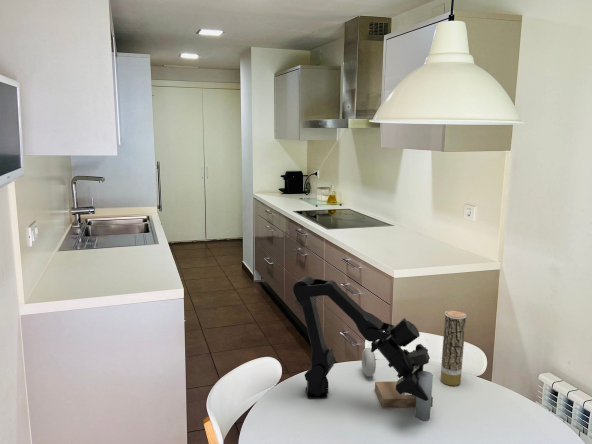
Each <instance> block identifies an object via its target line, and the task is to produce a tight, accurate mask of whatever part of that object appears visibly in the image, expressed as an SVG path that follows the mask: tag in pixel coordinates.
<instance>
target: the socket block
mask: <svg viewBox="0 0 592 444" xmlns="http://www.w3.org/2000/svg"><path fill="white" fill-rule="evenodd" d="M397 381H398V380H397ZM397 381H395V380H394V381H393V380H392V381H375V382H374V391H375V393H376V395H377V398H378V400H379V402H380V404H381V407H382V408H383V409H385V408H387V409H388V408H389V409H390V408H392V409H394V408H416V396H414V395H412V394H408V393H407V392H404V393H402V394H401V395H400V394H399V393H398V392H397V391H396V384H397ZM406 393H407V394H406ZM433 399H434V397H433V396H432V397H431V407H433V403H434V400H433Z"/></svg>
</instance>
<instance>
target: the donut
mask: <svg viewBox="0 0 592 444" xmlns="http://www.w3.org/2000/svg"><path fill="white" fill-rule="evenodd" d="M375 354H376V353H375V351H374V352H371V347H366V348H364V349H363V351H362V355H361V368H362V372H363V374H364V375H365V376H366V377H373V376H374V375H375V373H376V368H377V367H376V366H377V362H376V360H377V359H376V355H375Z"/></svg>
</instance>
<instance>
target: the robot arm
mask: <svg viewBox="0 0 592 444" xmlns="http://www.w3.org/2000/svg"><path fill="white" fill-rule="evenodd" d="M292 292H293V295H294V298H295V299H296V302H297V303H298V304H299V306H300V307H301V309H302V313H303V317H304V321H305V325H306V329H307V334H308V338H309V342H310V346H311V358H310V364H311V366H310V367H309V368H308V369H307V371H306V372H305V373H304V379H305V381H306V387H305V391H306V396H307V399H328V394H329V380H328V378H327V377H328V375H329V373H330V371H331V369H333V367H334V365H335V361H336V357H335V354H334V348H329V347H328V346H327V345H326V344H327V343H326V341H325V338H324V333H323V329H322V324H321V319H320V315H319V312H318V307H317V299H318V298H317V297H322V296H325V297H326V296H327V297H328V298H329V299H330V300H331V301H332V302H334V304H335V305H336V306H337V307H338V308H340V310H341V311H342V312H343V313H345V315H347V317H349V318H350V319H351V320H352V322H353V323H354V324H355V326H356V327H357V330H358V332H359V333H360V334H361V335H362V337H363V338H364V339H365V340H366V341H367V342H369V343H370V342H371V343H370V345H371V347H370V348H371V352H374V353H375V351H377V350H378V351H379V353H380V354H381V355H382V356H383V357H384V358H385V360H386V361H387V362H388V364H387V366H388V367H389V368H393V369H394V370H395V371H396V373H397V374H396V377H397V378H399V379H397V384H396V391H397V392H398V393H399V394H400V395H401V394H402V393H404V392H407V394H408V395H414V396H416V397H418V398H420V399H422V400H425V401H427V400H428V399H429V398H428V397H427V395H426V393H425V392H424V390H423V389H422V387H421V386H420V384H419V378H418V372H420V371H424V366H425V365H427V364H429V362H430V361H429V360H430V359H431V357H430V355H429V350H428V348H427V347H426V346H424V345H423V344H422V343H418V344H415V349H413V350H412V351H410V352H409V350H408V349H405V347H407V346H408V345H409V344H411V343H412V342H414V341H415V340H417V339H418V338H419V337H420V335H421V334H420V332H419V329H418V328H417V326H416V325H415V324H414V323H412V322H411V321H409V320H407V319H406V318H405V317H404V318H402V319H401V320H400V321H399V322H398V323H397V324H395V325H394V324H391V323H387V322H384V321H383V320H381V319H380V318H379V317H377V316H376V315H374V314H373V313H370V312H368V311H366V310H365V309H363V308H362V307H361V306H360V305H359V304H358V303H357V302H356V301H355V300H354V299H352V297H350V295H348V294H347V292H345V291H344V290H343V289H342V288H341V287H340V286H339V285H338V283H337V282H336V281H334V280H332V279H331V280H329V279H327V280H326V279H322V278H312V277H311V276H304V277H302V278H301V279H299V280H298V281H296V282H295V283H294V284H293V286H292ZM402 347H404V349H403V348H402ZM404 394H405V393H404Z"/></svg>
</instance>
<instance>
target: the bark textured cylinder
mask: <svg viewBox="0 0 592 444" xmlns="http://www.w3.org/2000/svg"><path fill="white" fill-rule="evenodd" d="M466 320H467V313H464V312H463V311H459V310H446V311H445V312H444V326H443V339H442V353H441V355H442V356H441V364H440V365H441V366H440V381H441V382H442V383H444V384H445V385H447V386H450V387H451V386H458V385H460V384H461V383H462V381H461V379H462V372H463V371H462V369H463V357H464V346H465V332H466V322H467V321H466Z"/></svg>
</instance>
